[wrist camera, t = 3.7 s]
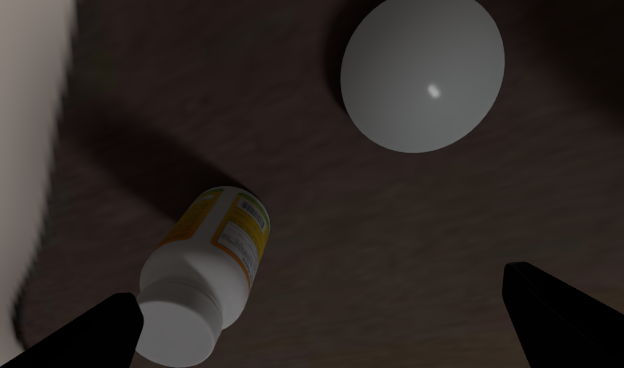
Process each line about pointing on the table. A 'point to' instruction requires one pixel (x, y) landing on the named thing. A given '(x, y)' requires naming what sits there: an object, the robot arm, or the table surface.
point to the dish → (422, 72)
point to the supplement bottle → (201, 276)
